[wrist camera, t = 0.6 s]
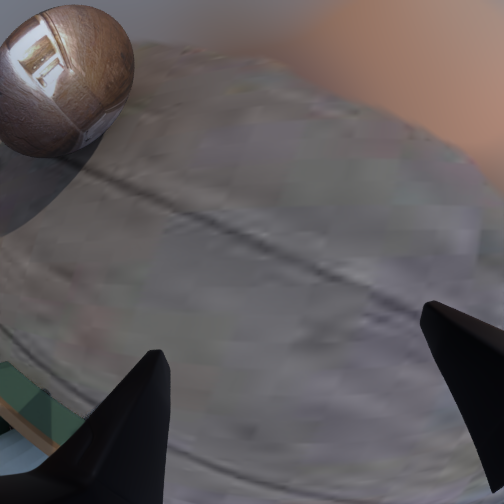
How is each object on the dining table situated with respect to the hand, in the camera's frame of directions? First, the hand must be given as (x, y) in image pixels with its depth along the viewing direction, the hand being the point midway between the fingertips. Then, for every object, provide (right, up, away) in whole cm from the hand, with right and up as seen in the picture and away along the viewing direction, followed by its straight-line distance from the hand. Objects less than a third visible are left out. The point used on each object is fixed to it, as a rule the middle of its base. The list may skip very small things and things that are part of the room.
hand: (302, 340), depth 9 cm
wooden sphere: (-19, +17, +18) cm, 31 cm away
